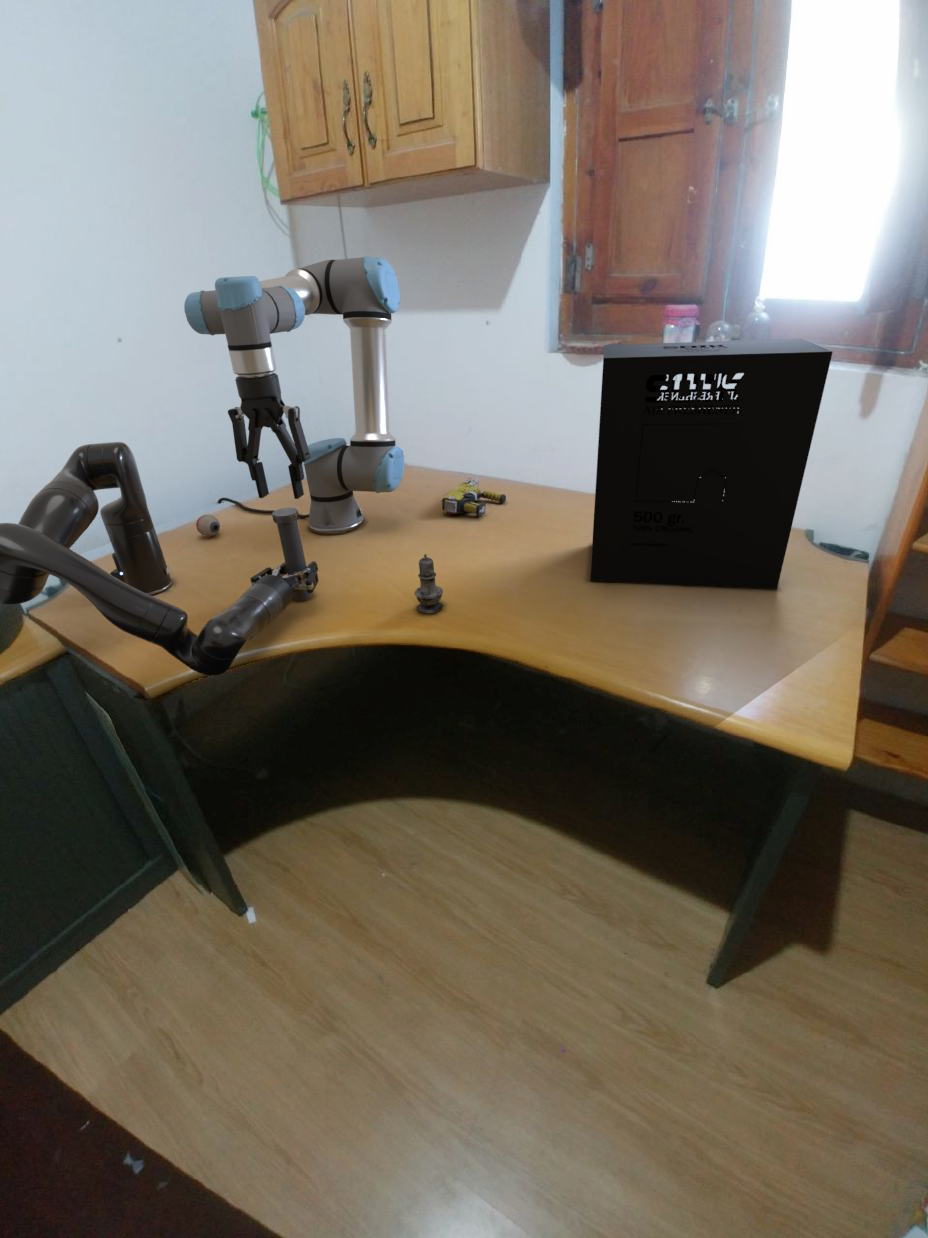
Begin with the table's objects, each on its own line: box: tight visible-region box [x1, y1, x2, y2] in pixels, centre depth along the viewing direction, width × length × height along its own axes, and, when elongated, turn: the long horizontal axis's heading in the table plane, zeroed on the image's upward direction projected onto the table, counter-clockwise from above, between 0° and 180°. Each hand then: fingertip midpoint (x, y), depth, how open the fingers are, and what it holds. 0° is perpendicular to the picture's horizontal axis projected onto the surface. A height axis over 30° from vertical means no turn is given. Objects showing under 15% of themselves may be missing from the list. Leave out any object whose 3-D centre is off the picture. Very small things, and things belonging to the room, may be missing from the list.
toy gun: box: [441, 477, 507, 518], centre depth 177 cm, size 5×24×15 cm
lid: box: [271, 507, 300, 525], centre depth 123 cm, size 5×5×2 cm
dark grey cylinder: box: [276, 520, 313, 603], centre depth 127 cm, size 4×4×19 cm
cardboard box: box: [589, 338, 834, 590], centre depth 125 cm, size 38×20×45 cm, turn 78°
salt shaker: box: [413, 553, 444, 614], centre depth 122 cm, size 6×6×12 cm
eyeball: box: [196, 514, 221, 538], centre depth 165 cm, size 6×6×6 cm
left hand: (302, 564), depth 131 cm, fingers open, 5 cm apart
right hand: (281, 496), depth 121 cm, fingers open, 7 cm apart
